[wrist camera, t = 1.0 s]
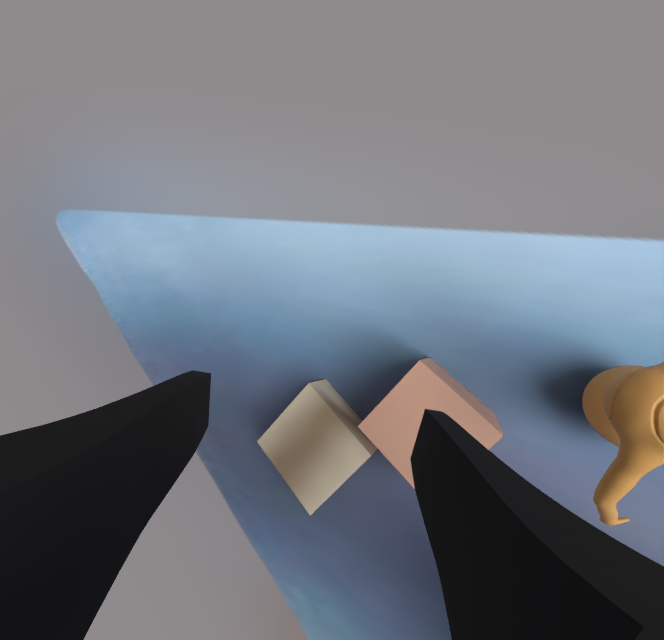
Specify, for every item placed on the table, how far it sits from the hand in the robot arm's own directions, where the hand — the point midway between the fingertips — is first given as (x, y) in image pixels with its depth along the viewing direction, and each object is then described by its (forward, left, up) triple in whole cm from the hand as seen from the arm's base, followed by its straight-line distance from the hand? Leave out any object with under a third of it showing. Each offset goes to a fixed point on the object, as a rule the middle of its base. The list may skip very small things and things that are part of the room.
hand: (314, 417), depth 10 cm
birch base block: (+1, +7, -12) cm, 14 cm away
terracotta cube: (-3, 0, -12) cm, 13 cm away
